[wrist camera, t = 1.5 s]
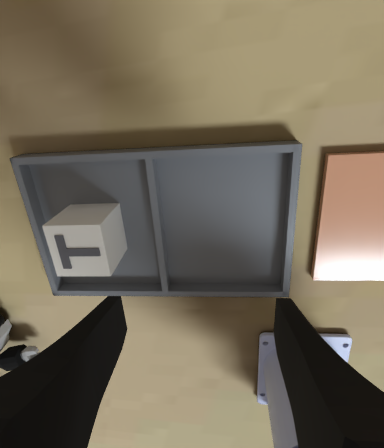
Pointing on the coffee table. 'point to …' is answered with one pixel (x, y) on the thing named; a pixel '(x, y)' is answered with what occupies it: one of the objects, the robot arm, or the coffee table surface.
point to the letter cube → (86, 239)
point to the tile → (351, 218)
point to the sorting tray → (176, 215)
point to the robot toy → (13, 349)
